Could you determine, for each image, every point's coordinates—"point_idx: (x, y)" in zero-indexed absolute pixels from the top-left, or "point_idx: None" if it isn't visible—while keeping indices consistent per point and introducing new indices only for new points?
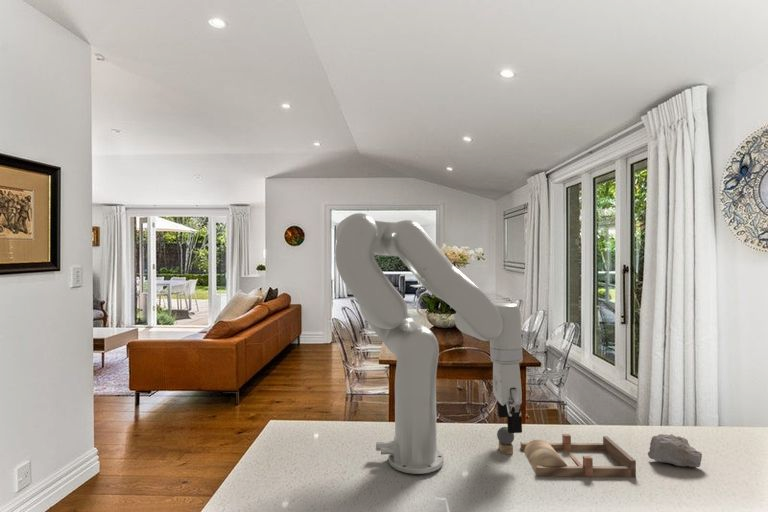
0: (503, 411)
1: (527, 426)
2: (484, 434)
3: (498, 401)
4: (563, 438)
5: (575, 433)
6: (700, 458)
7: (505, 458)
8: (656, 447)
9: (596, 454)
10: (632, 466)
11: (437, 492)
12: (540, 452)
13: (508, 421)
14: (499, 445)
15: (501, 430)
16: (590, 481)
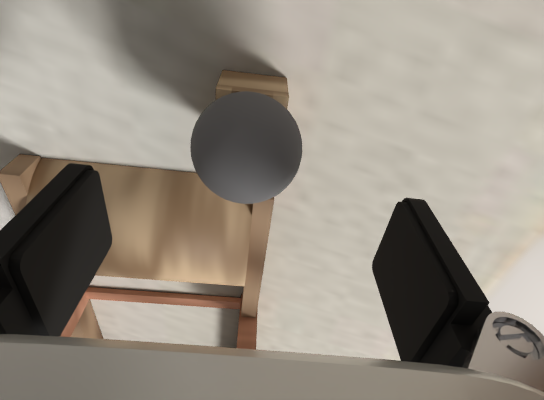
0: (400, 258)
1: (486, 274)
2: (513, 68)
3: (82, 352)
4: (244, 336)
5: (369, 355)
6: None
7: (185, 79)
8: None
9: (224, 345)
10: None
11: None
12: (121, 235)
13: (17, 223)
14: (264, 87)
15: (225, 138)
16: None
